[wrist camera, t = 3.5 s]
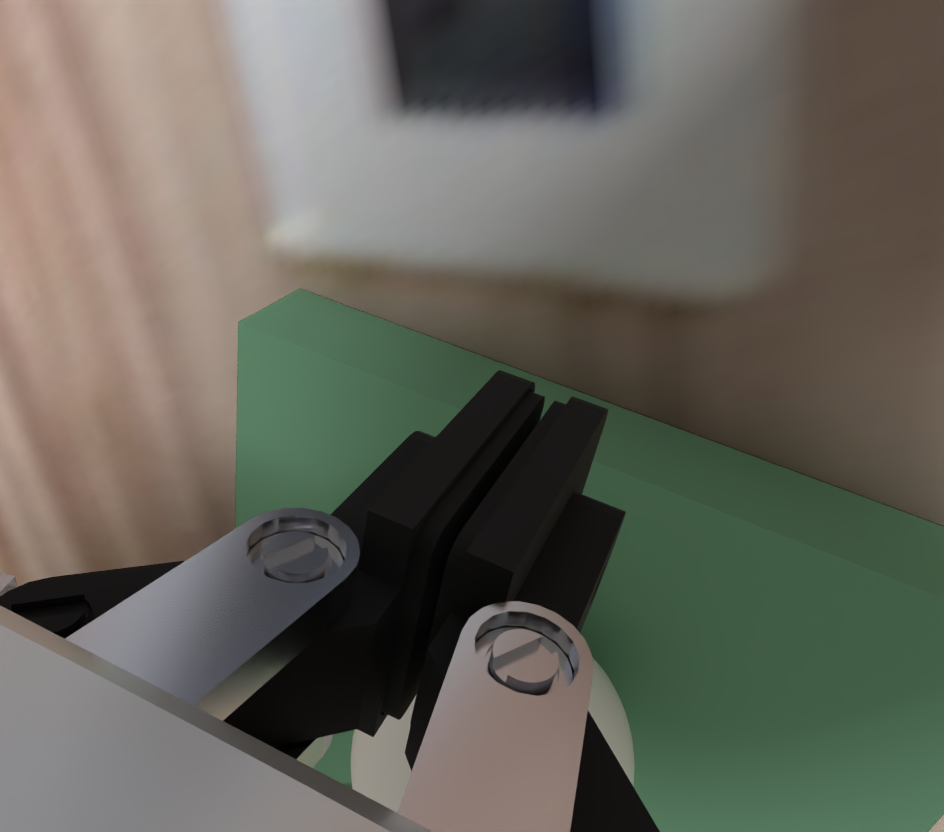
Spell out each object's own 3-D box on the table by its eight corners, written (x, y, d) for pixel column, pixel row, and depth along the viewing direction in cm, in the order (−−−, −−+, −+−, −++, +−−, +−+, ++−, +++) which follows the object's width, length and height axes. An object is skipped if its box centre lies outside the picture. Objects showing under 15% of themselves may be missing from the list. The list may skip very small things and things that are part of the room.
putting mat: (300, 288, 21) (238, 322, 19) (1058, 568, 16) (1085, 653, 14) (266, 834, 35) (229, 887, 33) (665, 1067, 30) (650, 1145, 28)
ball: (448, 518, 19) (301, 707, 14) (697, 626, 17) (630, 880, 12) (414, 684, 22) (285, 883, 17) (621, 786, 20) (544, 1037, 16)
